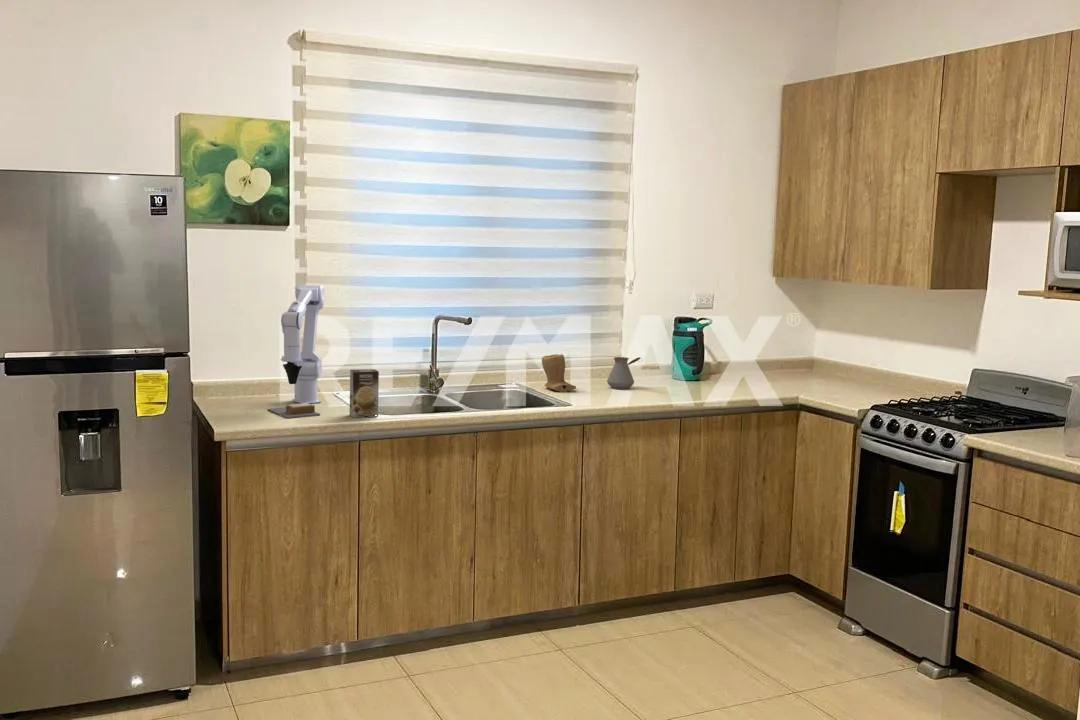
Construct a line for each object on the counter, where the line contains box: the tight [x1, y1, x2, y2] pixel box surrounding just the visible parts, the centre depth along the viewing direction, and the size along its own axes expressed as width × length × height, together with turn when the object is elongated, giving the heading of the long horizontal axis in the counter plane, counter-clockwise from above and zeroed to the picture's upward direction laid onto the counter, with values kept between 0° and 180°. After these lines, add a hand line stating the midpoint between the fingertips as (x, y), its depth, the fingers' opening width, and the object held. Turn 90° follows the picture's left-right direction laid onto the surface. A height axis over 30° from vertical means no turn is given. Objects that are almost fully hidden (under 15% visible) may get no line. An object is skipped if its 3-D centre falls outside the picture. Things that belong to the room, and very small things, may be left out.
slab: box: [285, 403, 316, 415], centre depth 352 cm, size 3×8×6 cm
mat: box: [267, 406, 321, 419], centre depth 354 cm, size 18×12×1 cm, turn 36°
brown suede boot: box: [541, 353, 577, 393], centre depth 416 cm, size 15×12×15 cm
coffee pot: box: [606, 356, 643, 390], centre depth 420 cm, size 21×12×15 cm, turn 25°
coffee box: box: [349, 368, 380, 418], centre depth 351 cm, size 9×6×16 cm
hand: (292, 383), depth 356 cm, fingers closed
